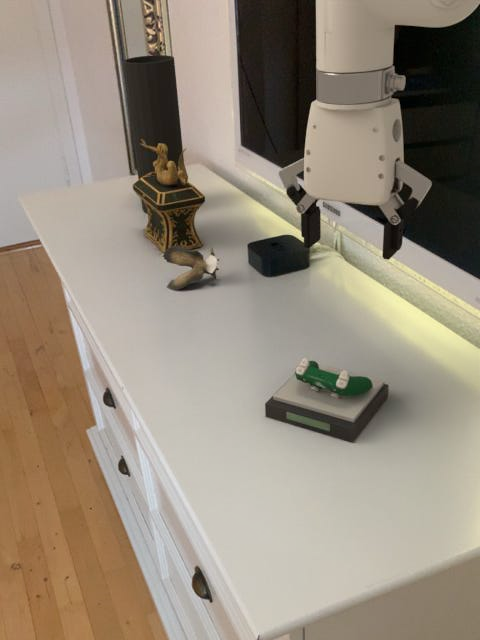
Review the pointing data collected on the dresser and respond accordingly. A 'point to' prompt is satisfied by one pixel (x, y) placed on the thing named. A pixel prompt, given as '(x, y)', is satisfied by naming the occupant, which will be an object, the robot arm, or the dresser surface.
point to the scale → (326, 407)
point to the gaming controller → (332, 380)
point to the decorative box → (169, 202)
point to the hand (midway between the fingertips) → (350, 249)
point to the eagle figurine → (190, 265)
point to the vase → (153, 109)
